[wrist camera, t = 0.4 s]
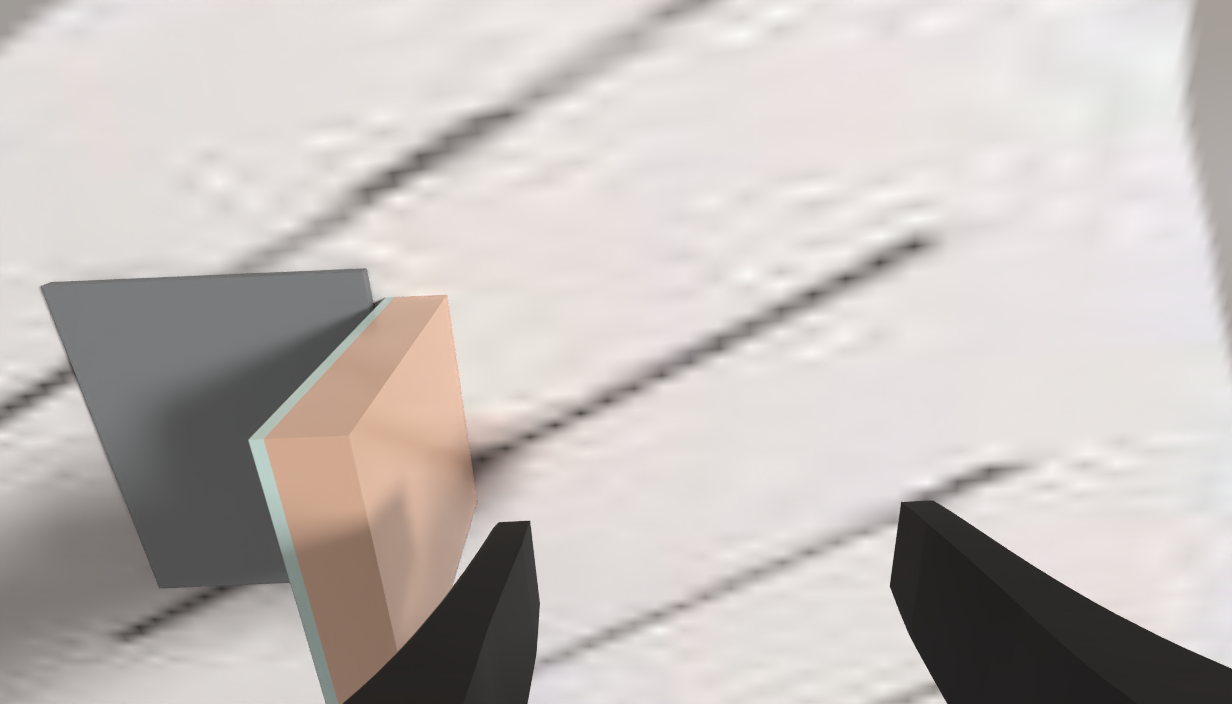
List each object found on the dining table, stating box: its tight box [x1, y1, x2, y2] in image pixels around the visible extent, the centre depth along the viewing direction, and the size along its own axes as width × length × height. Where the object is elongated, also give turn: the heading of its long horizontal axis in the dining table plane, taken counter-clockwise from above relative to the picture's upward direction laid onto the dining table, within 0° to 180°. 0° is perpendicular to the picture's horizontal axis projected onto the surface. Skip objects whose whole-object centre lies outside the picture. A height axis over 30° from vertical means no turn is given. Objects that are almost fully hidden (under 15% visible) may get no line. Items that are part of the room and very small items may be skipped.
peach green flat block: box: [249, 295, 477, 704], centre depth 19 cm, size 8×2×9 cm, turn 2°
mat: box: [41, 269, 374, 588], centre depth 23 cm, size 12×10×1 cm
